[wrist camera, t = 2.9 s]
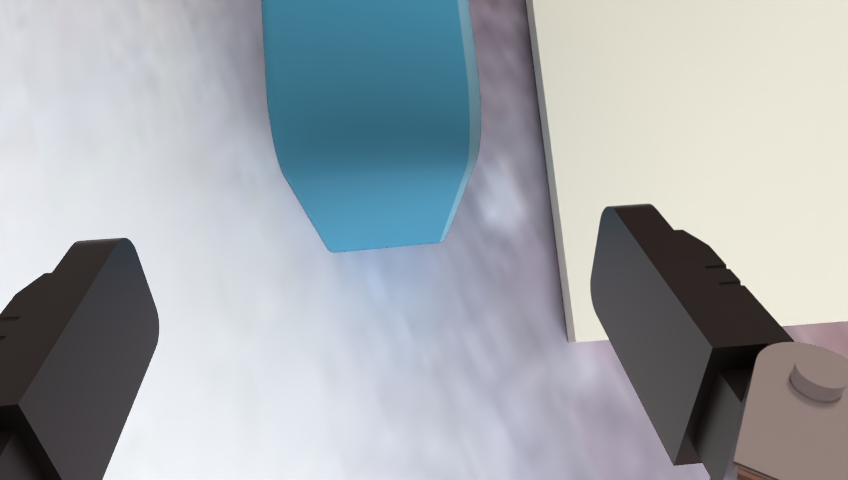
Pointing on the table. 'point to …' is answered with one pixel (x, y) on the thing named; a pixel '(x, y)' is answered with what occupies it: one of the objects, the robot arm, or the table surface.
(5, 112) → the table surface
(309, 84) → the data package
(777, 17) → the cream mat
